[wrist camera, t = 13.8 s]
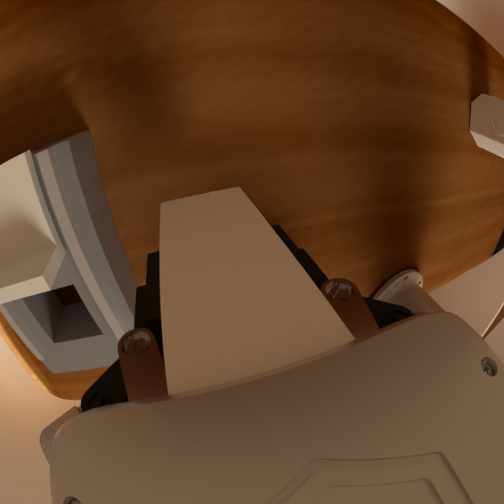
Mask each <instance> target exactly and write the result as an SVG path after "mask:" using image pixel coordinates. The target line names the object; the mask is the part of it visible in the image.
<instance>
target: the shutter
mask: <svg viewBox="0 0 504 504" xmlns="http://www.w3.org/2000/svg"><path fill="white" fill-rule="evenodd" d="M65 254H66V251H65V249H64V247H63V245H62V242H61V240H60V238H59V235H58V233H57V230H56V228H55V225H54V223H53V220H52V218H51V215H50V212H49V210H48V207H47V204H46V201H45V198H44V195H43V192H42V189H41V186H40V183H39V180H38V177H37V173H36V170H35V166H34V162H33V159H32V155H31V151H30V150H28V151H26V152H24V153H22V154H20V155H18V156H16V157H14V158H12V159H10V160H8V161H7V162H5V163H3V164H1V165H0V304H2V303H6V302H10V301H13V300H17V299H20V298H24V297H28V296H31V295H35V294H39V293H43V292H46V291H50V290H51V288H52V285H53V283H54V280H55V278H56V275H57V273H58V270H59V268H60V265H61V263H62V261H63V258H64V256H65Z"/></svg>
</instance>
